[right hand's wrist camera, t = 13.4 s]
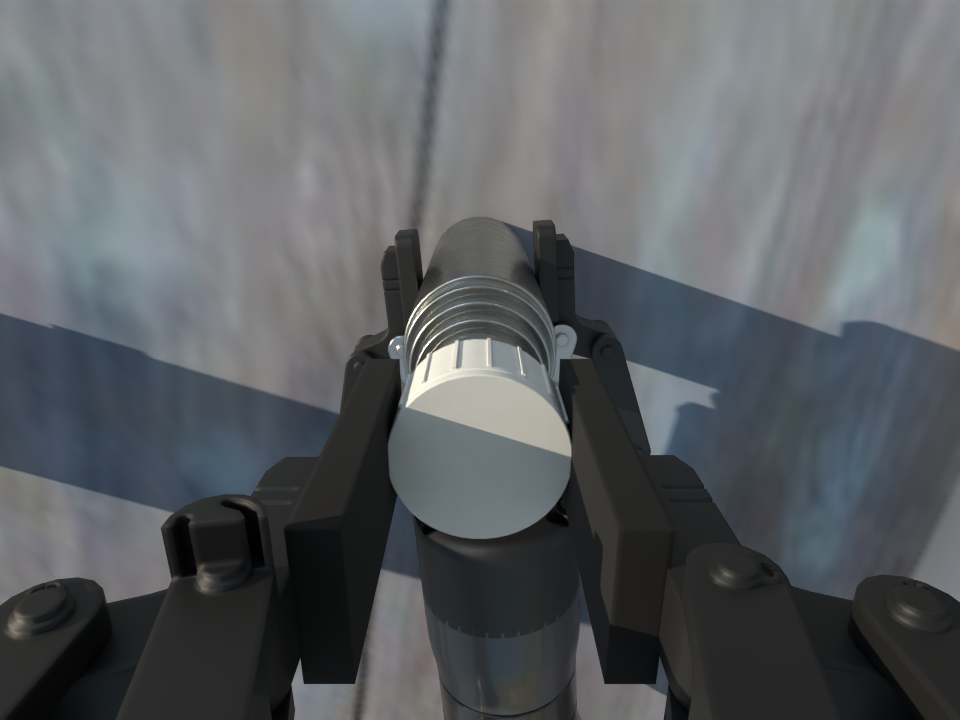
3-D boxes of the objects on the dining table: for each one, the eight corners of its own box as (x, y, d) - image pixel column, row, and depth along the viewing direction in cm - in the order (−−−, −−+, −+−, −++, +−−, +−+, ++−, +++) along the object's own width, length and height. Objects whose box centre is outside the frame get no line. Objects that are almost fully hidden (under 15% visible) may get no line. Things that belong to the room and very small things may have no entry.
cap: (587, 448, 15) (604, 500, 13) (443, 508, 16) (438, 567, 13) (521, 308, 14) (528, 340, 12) (367, 379, 14) (348, 421, 12)
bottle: (542, 286, 31) (625, 497, 13) (458, 325, 32) (431, 574, 14) (502, 200, 30) (536, 307, 12) (415, 242, 30) (325, 403, 13)
